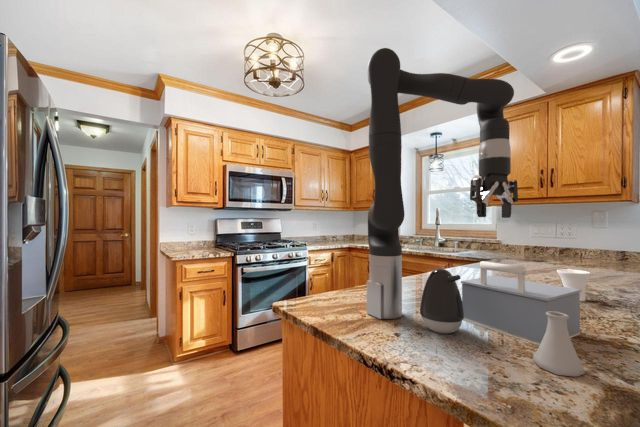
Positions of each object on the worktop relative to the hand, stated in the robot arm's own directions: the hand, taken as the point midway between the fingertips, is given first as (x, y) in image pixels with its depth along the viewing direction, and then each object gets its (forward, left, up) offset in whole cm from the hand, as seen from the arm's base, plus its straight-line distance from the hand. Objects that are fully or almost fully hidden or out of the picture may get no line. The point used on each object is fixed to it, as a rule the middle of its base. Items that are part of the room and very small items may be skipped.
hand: (494, 217), depth 80 cm
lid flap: (+1, -5, -18) cm, 19 cm away
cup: (+46, 0, -28) cm, 54 cm away
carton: (+1, -5, -28) cm, 29 cm away
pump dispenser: (-18, +3, -28) cm, 34 cm away
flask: (-15, -20, -28) cm, 38 cm away
